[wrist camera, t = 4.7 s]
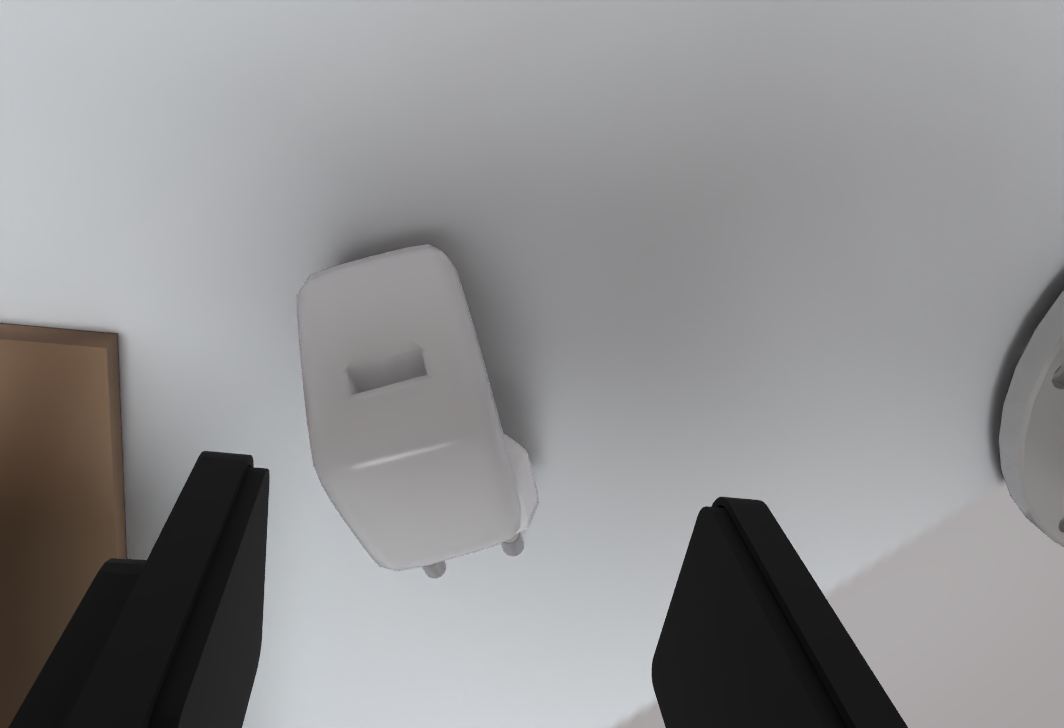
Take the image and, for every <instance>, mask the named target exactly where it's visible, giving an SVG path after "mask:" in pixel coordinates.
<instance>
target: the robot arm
mask: <svg viewBox="0 0 1064 728" xmlns="http://www.w3.org/2000/svg"><path fill="white" fill-rule="evenodd" d="M999 448H1000V460H1001V471H1002V473H1003V476H1004V479H1005V482H1006V484H1007V487H1008V490H1009V493H1010V496H1011V497H1012V499H1013V500H1014V502H1015V503H1016V504H1017V506H1018V507H1019V508H1020V510H1021V511H1022V512H1023V514H1024V515H1025V517H1026V518H1027V519H1029V520H1030V521H1031V522H1032V523H1033V524H1034V525H1036V526H1037V527H1038V528H1039V529H1040V530H1041V531H1042V532H1043V533H1045V534H1046V535H1047V536H1048V537H1049V538H1051V539H1052V540H1053V541H1054V542H1056V543H1058V544H1060V545H1061V546H1063V547H1064V290H1063V291H1062V293H1061V294H1060V295H1059V297H1058V298H1057V300H1056V301H1055V302H1054V304H1053V305H1052V307H1051V308H1050V309H1049V311H1048V312H1047V314H1046V315H1045V317H1044V318H1043V319H1042V321H1041V322H1040V324H1039V325H1038V326H1037V328H1036V329H1035V331H1034V333H1033V335H1032V337H1031V339H1030V341H1029V343H1028V345H1027V347H1026V349H1025V351H1024V353H1023V354H1022V356H1021V358H1020V360H1019V362H1018V364H1017V366H1016V368H1015V371H1014V375H1013V378H1012V381H1011V384H1010V387H1009V390H1008V393H1007V396H1006V399H1005V402H1004V405H1003V412H1002V419H1001V427H1000V434H999ZM268 497H269V470H268V469H264V468H253V457H252V455H244V454H232V453H221V452H210V451H203V452H202V453H201V454H200V456H199V458H198V459H197V461H196V463H195V465H194V467H193V469H192V471H191V473H190V475H189V477H188V479H187V481H186V483H185V485H184V487H183V489H182V491H181V493H180V495H179V497H178V499H177V501H176V503H175V505H174V507H173V509H172V511H171V513H170V515H169V517H168V519H167V521H166V523H165V525H164V527H163V529H162V531H161V533H160V535H159V537H158V539H157V541H156V543H155V545H154V547H153V549H152V551H151V553H150V555H149V557H148V559H147V560H133V559H117V558H111V559H109V560H108V561H106V562H105V563H104V564H103V566H102V567H101V568H100V570H99V571H98V573H97V574H96V576H95V578H94V580H93V581H92V583H91V585H90V587H89V588H88V590H87V592H86V593H85V595H84V597H83V599H82V600H81V602H80V604H79V606H78V607H77V609H76V611H75V613H74V614H73V616H72V618H71V620H70V621H69V623H68V625H67V626H66V628H65V630H64V632H63V633H62V635H61V637H60V639H59V640H58V642H57V644H56V646H55V647H54V649H53V651H52V653H51V654H50V656H49V658H48V660H47V661H46V663H45V665H44V666H43V668H42V670H41V672H40V673H39V675H38V677H37V679H36V680H35V682H34V684H33V686H32V687H31V689H30V691H29V693H28V694H27V696H26V698H25V699H24V701H23V703H22V705H21V706H20V708H19V710H18V712H17V713H16V715H15V717H14V719H13V720H12V722H11V724H10V726H9V727H8V728H242V725H243V721H244V717H245V714H246V710H247V706H248V702H249V698H250V694H251V691H252V687H253V683H254V679H255V675H256V671H257V667H258V662H259V657H260V650H261V642H262V624H263V603H264V582H265V561H266V540H267V519H268ZM652 683H653V687H654V691H655V694H656V698H657V701H658V704H659V707H660V710H661V714H662V717H663V720H664V723H665V727H666V728H908V727H907V725H906V724H905V722H904V721H903V719H902V718H901V716H900V714H899V713H898V711H897V710H896V708H895V706H894V705H893V703H892V702H891V700H890V699H889V697H888V695H887V694H886V692H885V691H884V689H883V688H882V686H881V685H880V683H879V681H878V680H877V678H876V677H875V675H874V674H873V672H872V670H871V669H870V667H869V666H868V664H867V663H866V661H865V659H864V658H863V656H862V655H861V653H860V651H859V650H858V648H857V647H856V645H855V644H854V642H853V640H852V639H851V637H850V636H849V634H848V633H847V631H846V630H845V628H844V627H843V625H842V623H841V622H840V620H839V618H838V617H837V615H836V614H835V612H834V610H833V609H832V607H831V606H830V604H829V603H828V601H827V599H826V598H825V596H824V595H823V593H822V592H821V590H820V588H819V587H818V585H817V584H816V582H815V581H814V579H813V577H812V576H811V574H810V573H809V571H808V570H807V568H806V566H805V565H804V563H803V562H802V560H801V559H800V557H799V555H798V554H797V552H796V551H795V549H794V548H793V546H792V544H791V543H790V541H789V540H788V538H787V537H786V535H785V533H784V532H783V530H782V529H781V527H780V525H779V524H778V522H777V521H776V519H775V518H774V516H773V514H772V513H771V511H770V510H769V508H768V507H767V505H766V504H765V503H764V502H763V501H760V500H752V499H740V498H729V497H719V498H717V499H716V500H715V501H714V503H713V504H712V507H703V508H702V509H701V510H700V512H699V514H698V517H697V520H696V523H695V526H694V530H693V533H692V536H691V539H690V542H689V546H688V549H687V552H686V555H685V558H684V561H683V565H682V568H681V571H680V574H679V577H678V581H677V584H676V587H675V590H674V593H673V597H672V600H671V603H670V606H669V609H668V612H667V616H666V619H665V622H664V625H663V628H662V632H661V635H660V638H659V641H658V644H657V647H656V651H655V654H654V657H653V662H652Z"/></svg>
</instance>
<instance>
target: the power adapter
mask: <svg viewBox="0 0 1064 728" xmlns="http://www.w3.org/2000/svg"><path fill="white" fill-rule="evenodd" d="M297 316H298V330H299V343H300V354H301V366H302V377H303V388H304V398H305V407H306V417H307V425H308V432H309V439H310V446H311V452H312V459H313V466H314V468H315V471H316V473H317V475H318V477H319V480H320V482H321V484H322V487H323V488H324V490H325V492H326V493H327V495H328V497H329V498H330V500H331V502H332V503H333V505H334V506H335V508H336V509H337V511H338V512H339V514H340V515H341V517H342V518H343V520H344V521H345V522H346V524H347V525H348V527H349V528H350V529H351V531H352V532H353V533H354V535H355V536H356V538H357V539H358V540H359V542H360V543H361V545H362V546H363V547H364V548H365V550H366V551H367V552H368V554H369V555H370V556H371V557H372V559H373V560H374V561H375V562H376V563H377V564H378V565H379V566H380V567H383V568H386V569H390V570H394V571H402V570H407V569H413V568H418V567H422V568H423V570H424V572H425V573H426V575H427V576H429V577H430V578H439V577H441V576H442V575H443V574H444V572H445V570H446V563H445V560H449V559H452V558H456V557H459V556H463V555H466V554H470V553H473V552H477V551H480V550H483V549H486V548H489V547H493V546H495V545H498V544H500V543H501V545H502V548H503V550H504V552H505V553H506V554H507V555H509V556H517V555H519V554H520V553H521V552H522V551H523V549H524V541H523V538H522V535H521V532H522V531H524V530H526V529H527V528H528V527H529V525H530V523H531V521H532V518H533V516H534V513H535V511H536V508H537V506H538V503H539V501H538V492H537V488H536V484H535V480H534V476H533V471H532V467H531V463H530V459H529V456H528V453H527V451H526V450H525V448H524V447H522V446H521V445H520V444H518V443H517V442H516V441H514V440H513V439H512V438H510V437H509V436H507V435H506V434H505V433H503V431H502V427H501V423H500V419H499V416H498V412H497V408H496V404H495V401H494V397H493V393H492V389H491V386H490V382H489V378H488V375H487V371H486V367H485V364H484V360H483V357H482V353H481V350H480V346H479V342H478V339H477V335H476V332H475V328H474V325H473V321H472V318H471V315H470V311H469V308H468V305H467V301H466V298H465V295H464V292H463V288H462V285H461V282H460V279H459V276H458V273H457V270H456V268H455V267H454V265H453V264H452V263H451V261H450V260H449V258H448V257H447V256H446V255H445V254H444V253H443V252H442V251H441V250H440V249H438V248H436V247H433V246H431V245H429V244H426V245H419V246H413V247H407V248H403V249H398V250H394V251H389V252H385V253H382V254H378V255H374V256H370V257H366V258H362V259H359V260H355V261H351V262H347V263H344V264H341V265H337V266H334V267H330V268H327V269H325V270H322V271H319V272H317V273H314V274H311V275H310V276H309V277H308V279H307V280H306V281H305V283H304V284H303V285H302V287H301V289H300V291H299V292H298V294H297Z"/></svg>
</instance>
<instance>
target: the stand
mask: <svg viewBox="0 0 1064 728" xmlns="http://www.w3.org/2000/svg"><path fill="white" fill-rule="evenodd" d="M111 558H117V559H127V555H126V530H125V506H124V482H123V457H122V433H121V409H120V385H119V360H118V336H117V334H112V333H101V332H90V331H79V330H67V329H56V328H45V327H34V326H23V325H11V324H0V728H8V727H9V726H10V724H11V722H12V720H13V719H14V717H15V715H16V713H17V712H18V710H19V708H20V706H21V705H22V703H23V701H24V699H25V698H26V696H27V694H28V693H29V691H30V689H31V687H32V686H33V684H34V682H35V680H36V679H37V677H38V675H39V673H40V672H41V670H42V668H43V666H44V665H45V663H46V661H47V660H48V658H49V656H50V654H51V653H52V651H53V649H54V647H55V646H56V644H57V642H58V640H59V639H60V637H61V635H62V633H63V632H64V630H65V628H66V626H67V625H68V623H69V621H70V620H71V618H72V616H73V614H74V613H75V611H76V609H77V607H78V606H79V604H80V602H81V600H82V599H83V597H84V595H85V593H86V592H87V590H88V588H89V587H90V585H91V583H92V581H93V580H94V578H95V576H96V574H97V573H98V571H99V570H100V568H101V567H102V566H103V564H104V563H105V562H106V561H108V560H109V559H111Z"/></svg>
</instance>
